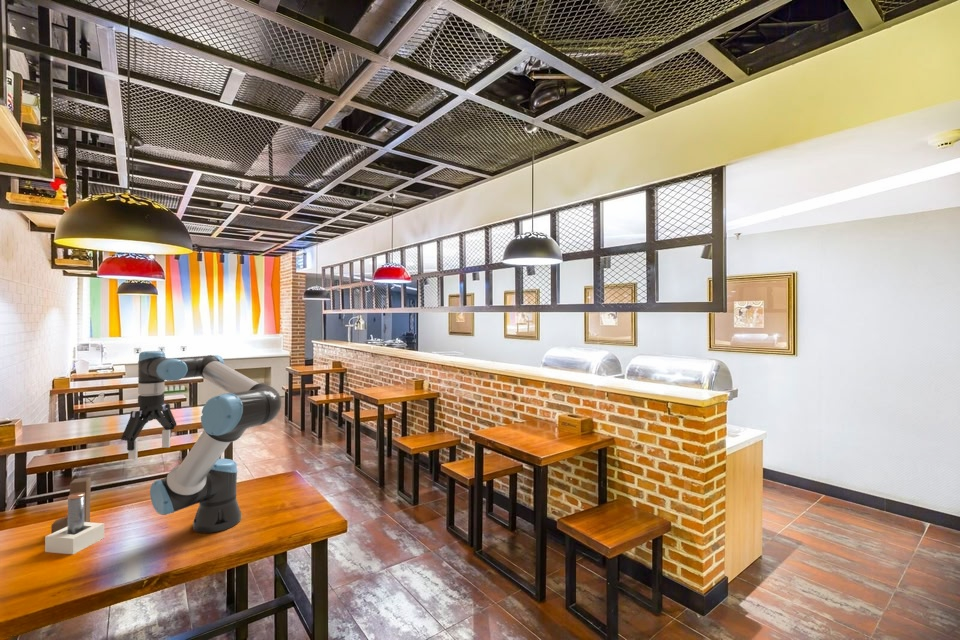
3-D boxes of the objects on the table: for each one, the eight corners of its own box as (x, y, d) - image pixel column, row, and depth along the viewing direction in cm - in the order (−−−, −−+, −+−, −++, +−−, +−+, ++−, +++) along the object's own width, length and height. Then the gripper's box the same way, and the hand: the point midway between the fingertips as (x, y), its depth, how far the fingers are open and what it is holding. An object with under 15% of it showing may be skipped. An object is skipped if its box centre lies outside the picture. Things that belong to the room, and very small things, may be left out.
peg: (76, 541, 142) (77, 491, 141) (87, 542, 141) (88, 492, 141) (63, 547, 137) (64, 496, 137) (74, 548, 137) (75, 497, 137)
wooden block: (50, 538, 143) (51, 485, 143) (56, 531, 147) (57, 480, 147) (85, 532, 147) (86, 480, 147) (90, 526, 151) (91, 476, 151)
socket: (104, 538, 144) (104, 523, 144) (73, 554, 134) (73, 538, 134) (77, 536, 145) (78, 521, 145) (45, 552, 135) (45, 536, 135)
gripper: (170, 388, 165) (169, 442, 165) (108, 400, 140) (106, 464, 140) (188, 388, 164) (187, 443, 164) (128, 401, 139) (127, 465, 139)
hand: (150, 452), depth 152 cm, fingers open, 13 cm apart
